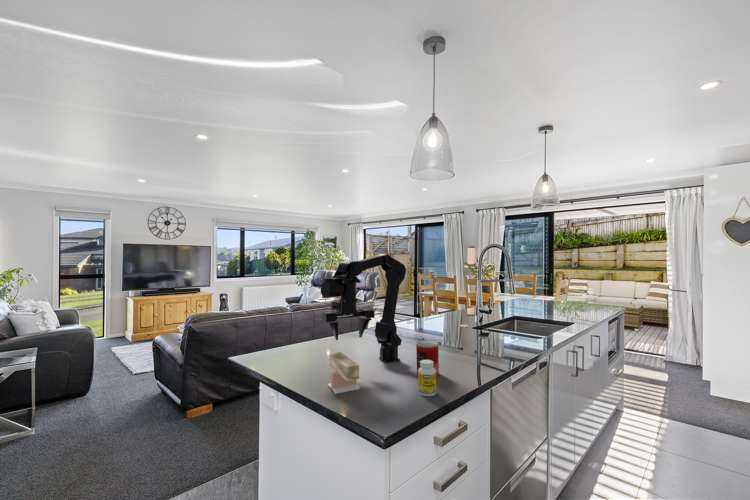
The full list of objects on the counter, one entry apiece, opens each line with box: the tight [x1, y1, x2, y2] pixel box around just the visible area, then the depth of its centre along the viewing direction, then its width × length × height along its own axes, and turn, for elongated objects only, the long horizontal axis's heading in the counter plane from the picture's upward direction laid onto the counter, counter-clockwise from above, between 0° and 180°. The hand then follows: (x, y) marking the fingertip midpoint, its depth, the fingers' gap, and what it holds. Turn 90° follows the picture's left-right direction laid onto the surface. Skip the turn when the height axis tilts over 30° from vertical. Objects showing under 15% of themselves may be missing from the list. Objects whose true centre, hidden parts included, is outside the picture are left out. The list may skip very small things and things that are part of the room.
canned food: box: [415, 339, 440, 377], centre depth 119 cm, size 8×8×11 cm
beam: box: [329, 352, 360, 381], centre depth 108 cm, size 4×16×4 cm, turn 26°
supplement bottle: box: [417, 360, 437, 397], centre depth 102 cm, size 5×5×10 cm
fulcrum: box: [327, 371, 361, 395], centre depth 108 cm, size 8×7×5 cm
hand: (348, 338), depth 123 cm, fingers open, 9 cm apart
